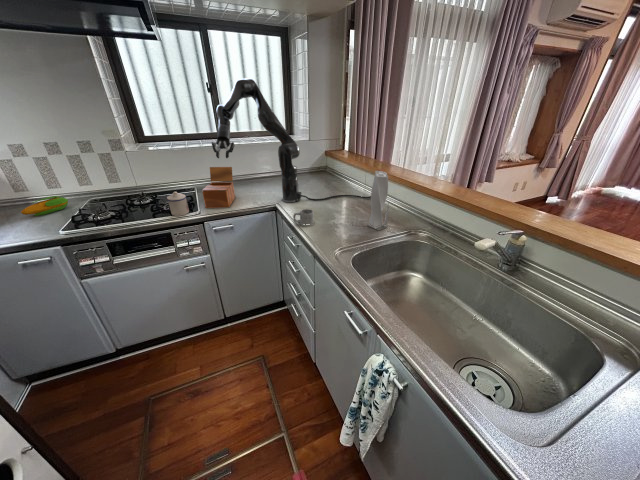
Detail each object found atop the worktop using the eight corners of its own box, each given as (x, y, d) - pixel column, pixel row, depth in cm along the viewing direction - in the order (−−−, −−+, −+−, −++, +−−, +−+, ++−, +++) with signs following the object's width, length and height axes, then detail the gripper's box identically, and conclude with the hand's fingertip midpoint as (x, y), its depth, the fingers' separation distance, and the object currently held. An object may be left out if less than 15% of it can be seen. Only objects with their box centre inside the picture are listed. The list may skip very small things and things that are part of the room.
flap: (210, 181, 160) (210, 181, 160) (232, 181, 161) (232, 181, 161) (209, 167, 158) (209, 167, 159) (231, 166, 159) (231, 166, 160)
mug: (313, 221, 136) (313, 208, 133) (313, 226, 130) (313, 214, 127) (294, 220, 136) (293, 208, 133) (293, 226, 130) (292, 214, 127)
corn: (67, 193, 145) (20, 206, 129) (74, 206, 149) (29, 220, 133) (60, 192, 148) (12, 204, 132) (67, 205, 151) (21, 219, 135)
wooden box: (213, 197, 165) (210, 181, 160) (235, 197, 166) (232, 180, 161) (205, 207, 150) (201, 190, 145) (229, 207, 151) (226, 190, 146)
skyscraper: (375, 231, 126) (383, 173, 113) (363, 225, 132) (369, 169, 119) (387, 227, 131) (396, 170, 117) (375, 221, 136) (382, 166, 123)
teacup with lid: (192, 212, 144) (187, 192, 138) (175, 217, 138) (169, 196, 132) (183, 206, 151) (178, 187, 145) (166, 211, 145) (160, 190, 139)
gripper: (210, 129, 163) (208, 154, 159) (233, 130, 164) (232, 154, 160) (214, 137, 171) (212, 161, 166) (236, 137, 172) (235, 161, 167)
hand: (222, 157), depth 163 cm, fingers open, 4 cm apart
